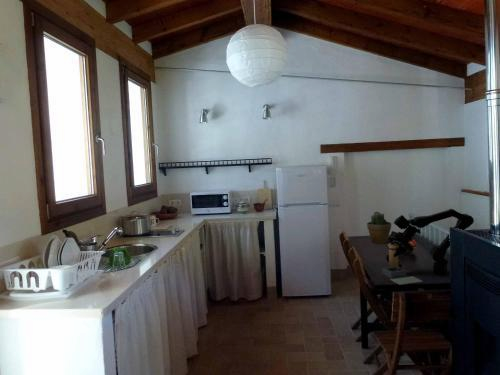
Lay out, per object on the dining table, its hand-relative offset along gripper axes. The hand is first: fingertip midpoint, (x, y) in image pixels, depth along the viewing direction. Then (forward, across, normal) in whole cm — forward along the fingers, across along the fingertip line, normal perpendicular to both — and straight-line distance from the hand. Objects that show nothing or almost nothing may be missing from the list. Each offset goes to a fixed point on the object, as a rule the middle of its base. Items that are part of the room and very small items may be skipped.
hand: (391, 255), depth 224 cm
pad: (+8, +12, +10) cm, 17 cm away
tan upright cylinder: (+4, 0, +6) cm, 7 cm away
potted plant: (-17, -77, +35) cm, 86 cm away
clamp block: (+8, 0, +10) cm, 12 cm away
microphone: (0, -19, +18) cm, 26 cm away
